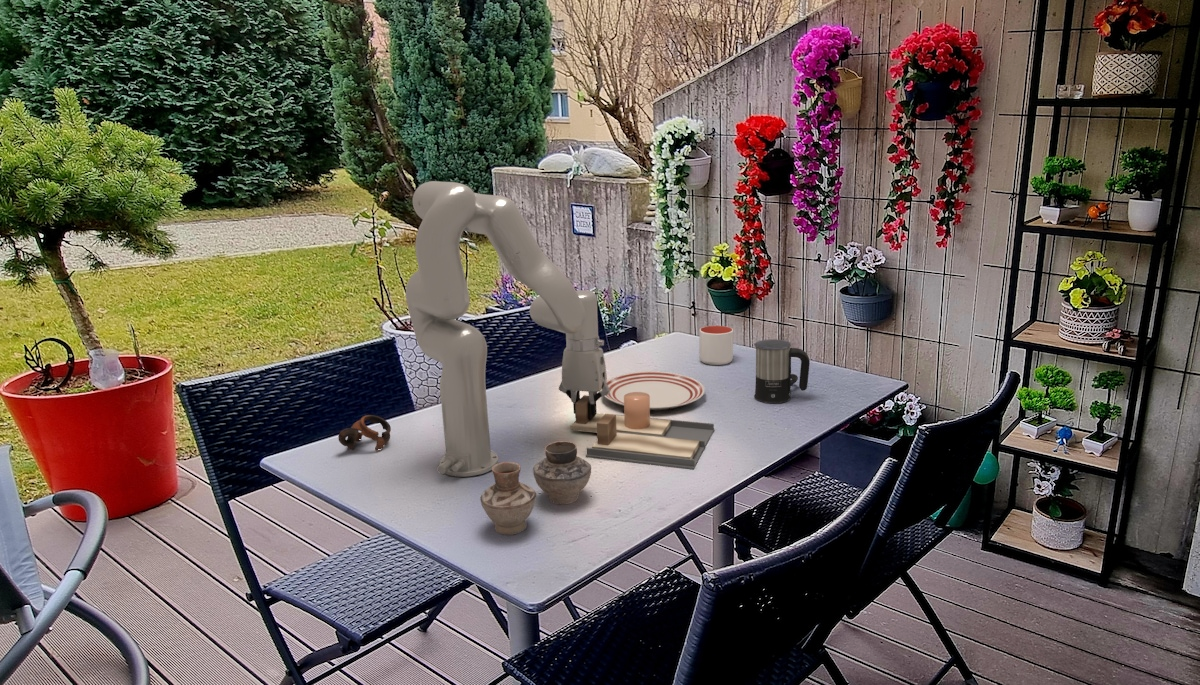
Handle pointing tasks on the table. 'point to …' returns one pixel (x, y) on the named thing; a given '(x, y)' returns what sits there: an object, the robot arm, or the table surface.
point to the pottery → (516, 500)
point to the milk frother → (778, 370)
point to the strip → (641, 441)
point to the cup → (716, 345)
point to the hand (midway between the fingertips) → (585, 416)
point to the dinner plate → (656, 388)
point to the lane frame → (676, 430)
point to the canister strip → (584, 424)
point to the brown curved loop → (365, 432)
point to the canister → (637, 410)
